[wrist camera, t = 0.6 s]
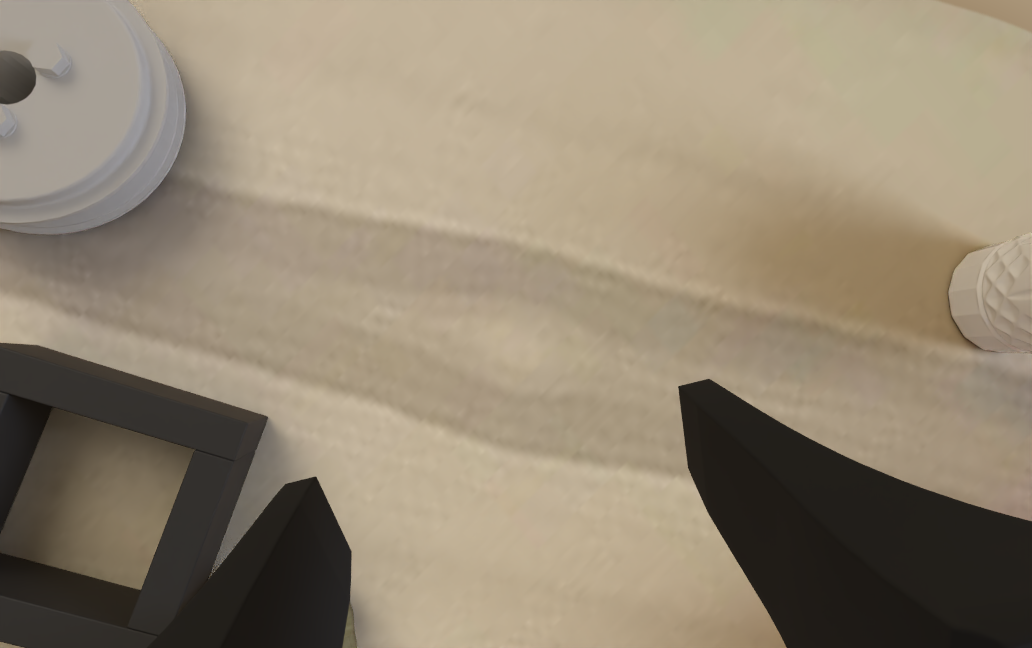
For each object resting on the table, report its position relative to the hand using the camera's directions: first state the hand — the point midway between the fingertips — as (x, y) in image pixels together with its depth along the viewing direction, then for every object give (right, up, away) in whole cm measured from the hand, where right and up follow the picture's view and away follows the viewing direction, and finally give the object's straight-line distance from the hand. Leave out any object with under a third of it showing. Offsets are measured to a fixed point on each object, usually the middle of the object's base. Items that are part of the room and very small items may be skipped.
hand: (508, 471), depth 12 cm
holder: (-20, -5, +19) cm, 28 cm away
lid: (-23, +13, +20) cm, 33 cm away
